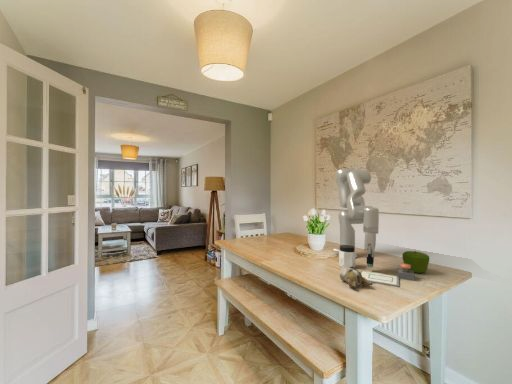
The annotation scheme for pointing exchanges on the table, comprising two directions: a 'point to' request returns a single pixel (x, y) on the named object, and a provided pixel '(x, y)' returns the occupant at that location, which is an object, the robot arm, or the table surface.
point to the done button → (406, 267)
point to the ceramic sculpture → (353, 277)
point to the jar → (347, 256)
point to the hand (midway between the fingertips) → (370, 262)
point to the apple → (416, 261)
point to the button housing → (406, 274)
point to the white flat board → (381, 278)
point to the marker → (373, 260)
